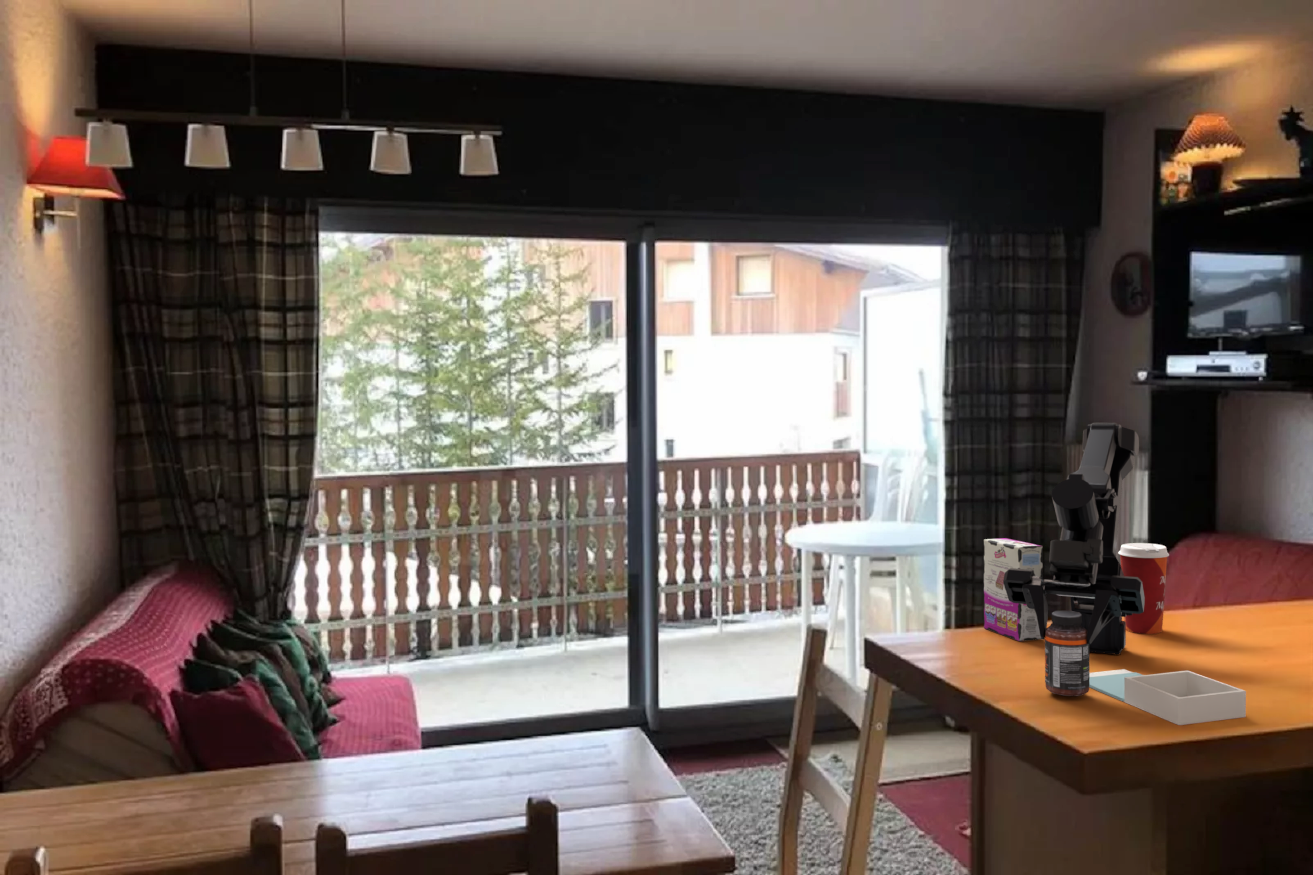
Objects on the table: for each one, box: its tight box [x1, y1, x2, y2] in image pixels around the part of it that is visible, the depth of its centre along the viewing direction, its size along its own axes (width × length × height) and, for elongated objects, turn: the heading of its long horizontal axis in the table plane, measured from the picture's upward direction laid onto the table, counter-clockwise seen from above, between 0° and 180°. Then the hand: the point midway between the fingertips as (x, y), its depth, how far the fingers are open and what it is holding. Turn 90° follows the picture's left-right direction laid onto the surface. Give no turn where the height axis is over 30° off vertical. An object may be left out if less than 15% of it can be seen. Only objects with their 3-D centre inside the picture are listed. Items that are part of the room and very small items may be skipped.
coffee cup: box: [1117, 542, 1170, 635], centre depth 191 cm, size 8×8×15 cm
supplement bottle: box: [1044, 609, 1090, 697], centre depth 154 cm, size 6×6×11 cm
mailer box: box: [1089, 668, 1247, 726], centre depth 153 cm, size 10×23×4 cm, turn 15°
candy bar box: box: [983, 537, 1044, 642], centre depth 190 cm, size 11×5×16 cm, turn 16°
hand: (1065, 640), depth 153 cm, fingers closed on supplement bottle, 6 cm apart
